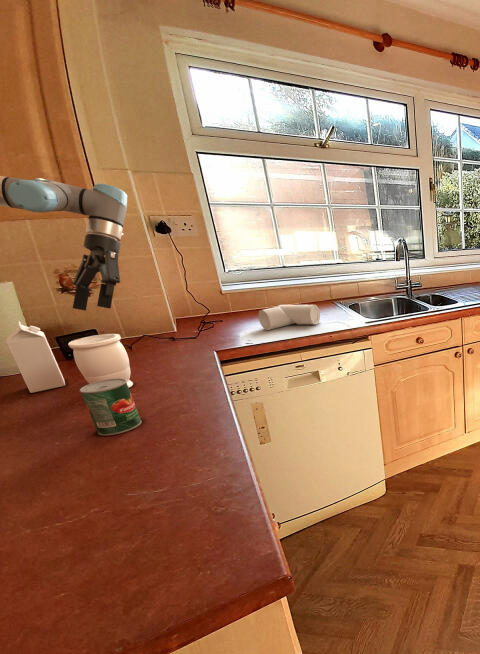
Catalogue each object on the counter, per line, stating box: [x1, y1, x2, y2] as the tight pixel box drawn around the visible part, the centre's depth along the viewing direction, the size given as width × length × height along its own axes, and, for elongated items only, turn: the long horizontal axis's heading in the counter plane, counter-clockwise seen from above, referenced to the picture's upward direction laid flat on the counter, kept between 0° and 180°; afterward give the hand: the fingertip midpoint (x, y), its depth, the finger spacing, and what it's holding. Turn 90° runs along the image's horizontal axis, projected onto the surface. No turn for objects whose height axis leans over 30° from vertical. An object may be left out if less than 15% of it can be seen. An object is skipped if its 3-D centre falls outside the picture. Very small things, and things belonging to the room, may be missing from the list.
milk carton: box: [6, 320, 66, 394], centre depth 119 cm, size 7×7×19 cm
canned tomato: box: [79, 378, 142, 437], centre depth 98 cm, size 8×8×11 cm
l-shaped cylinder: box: [257, 304, 321, 331], centre depth 179 cm, size 18×11×20 cm
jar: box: [68, 333, 134, 389], centre depth 118 cm, size 11×10×15 cm
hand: (91, 308), depth 122 cm, fingers open, 13 cm apart
